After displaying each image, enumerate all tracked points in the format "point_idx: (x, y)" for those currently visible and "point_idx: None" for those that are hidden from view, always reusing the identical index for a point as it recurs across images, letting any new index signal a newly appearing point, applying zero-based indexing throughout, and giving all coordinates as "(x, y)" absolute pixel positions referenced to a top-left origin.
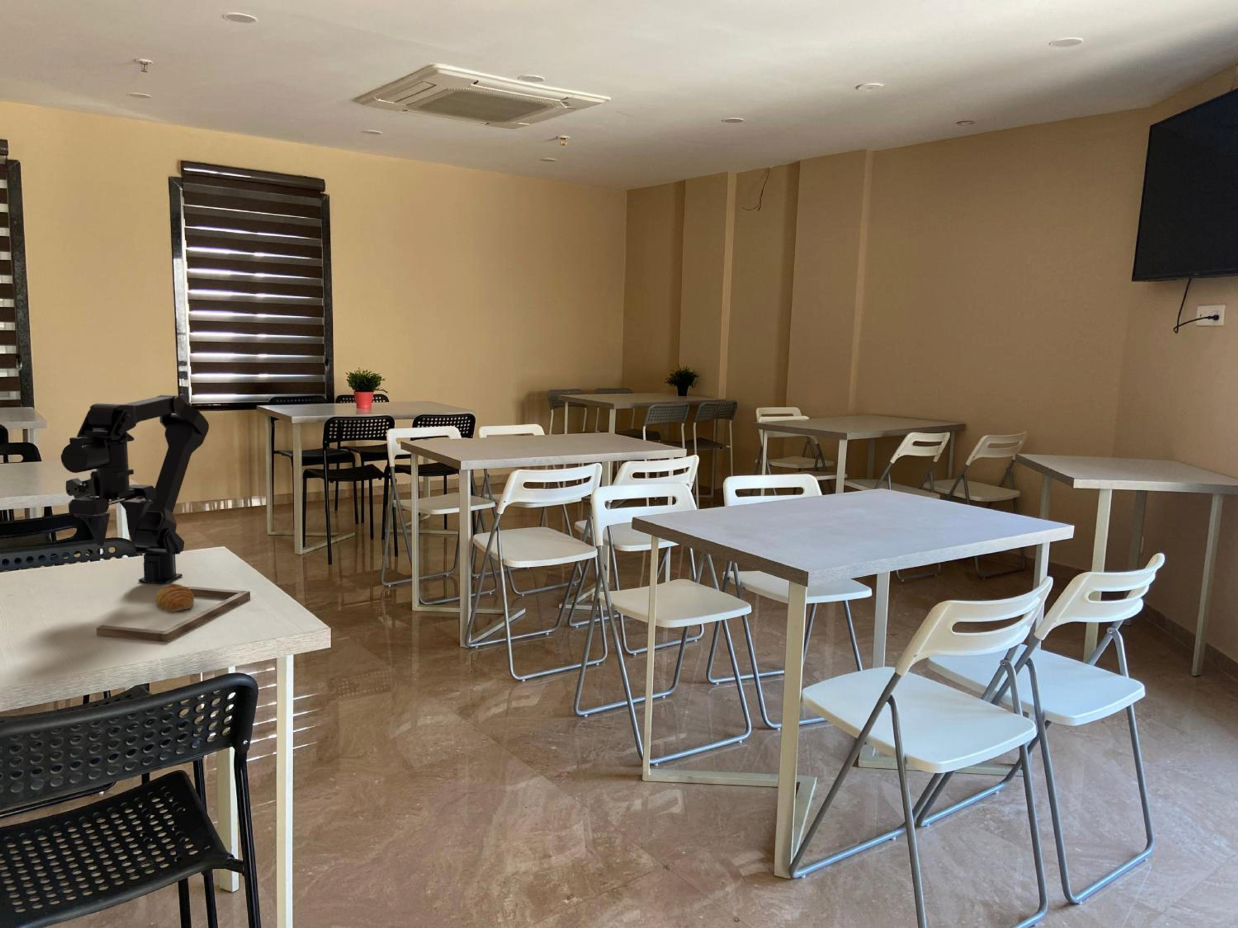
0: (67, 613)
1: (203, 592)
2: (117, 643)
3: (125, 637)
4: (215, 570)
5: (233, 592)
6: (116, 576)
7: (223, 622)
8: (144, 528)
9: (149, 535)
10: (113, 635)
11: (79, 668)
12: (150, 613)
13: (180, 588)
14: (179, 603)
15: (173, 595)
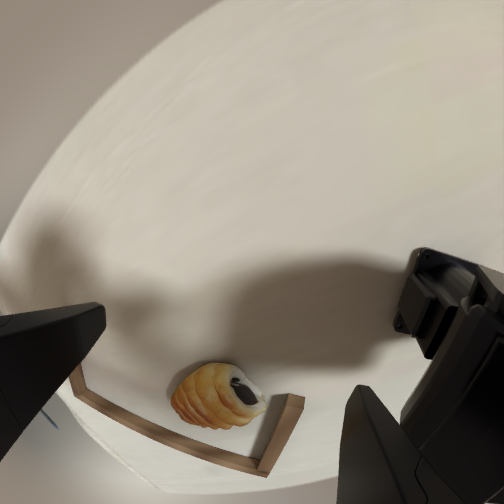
0: (133, 192)
1: (275, 428)
2: None
3: None
4: None
5: (259, 464)
6: (477, 156)
7: (154, 442)
8: (443, 422)
9: (421, 414)
10: None
11: None
12: (162, 360)
13: (212, 422)
14: (175, 410)
15: (185, 409)
